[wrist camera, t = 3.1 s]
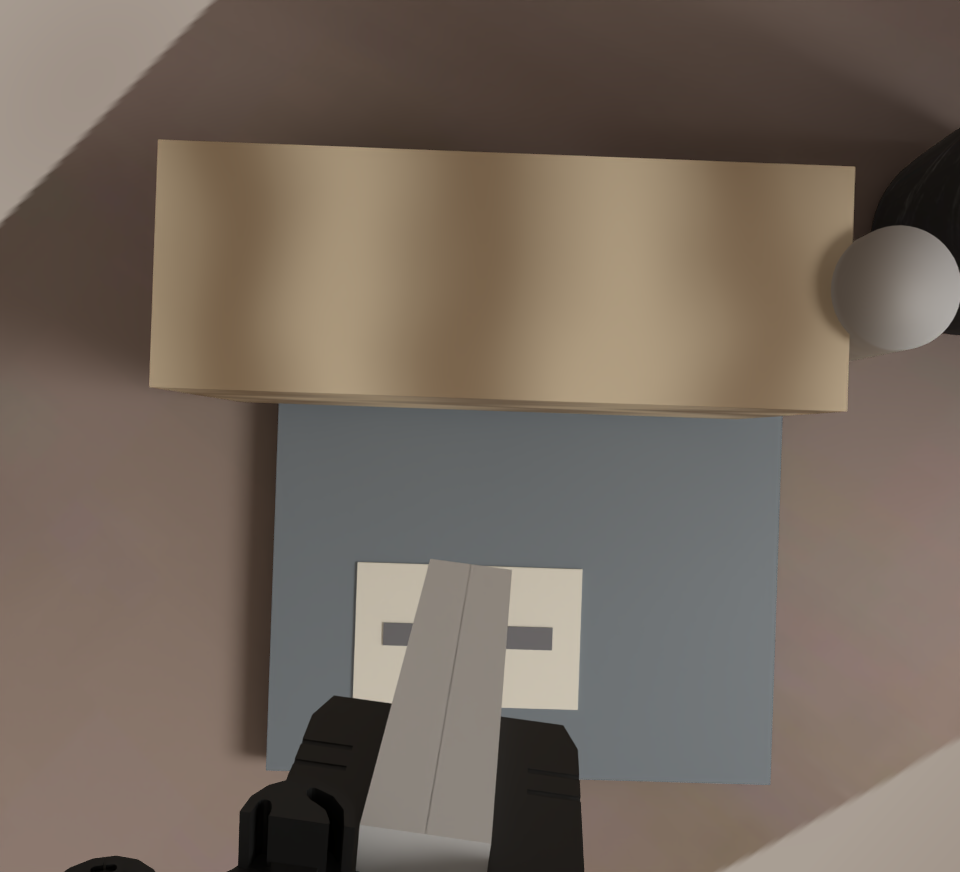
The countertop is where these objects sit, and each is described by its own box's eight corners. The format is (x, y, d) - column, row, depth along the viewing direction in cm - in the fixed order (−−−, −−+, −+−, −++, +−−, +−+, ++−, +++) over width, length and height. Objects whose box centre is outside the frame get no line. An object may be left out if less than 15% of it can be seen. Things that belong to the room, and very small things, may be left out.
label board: (811, 181, 33) (832, 165, 31) (791, 773, 33) (812, 794, 31) (294, 162, 33) (283, 144, 31) (273, 758, 33) (260, 778, 31)
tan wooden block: (814, 248, 31) (965, 165, 22) (808, 421, 31) (957, 414, 22) (248, 227, 31) (151, 133, 21) (241, 402, 31) (143, 386, 21)
